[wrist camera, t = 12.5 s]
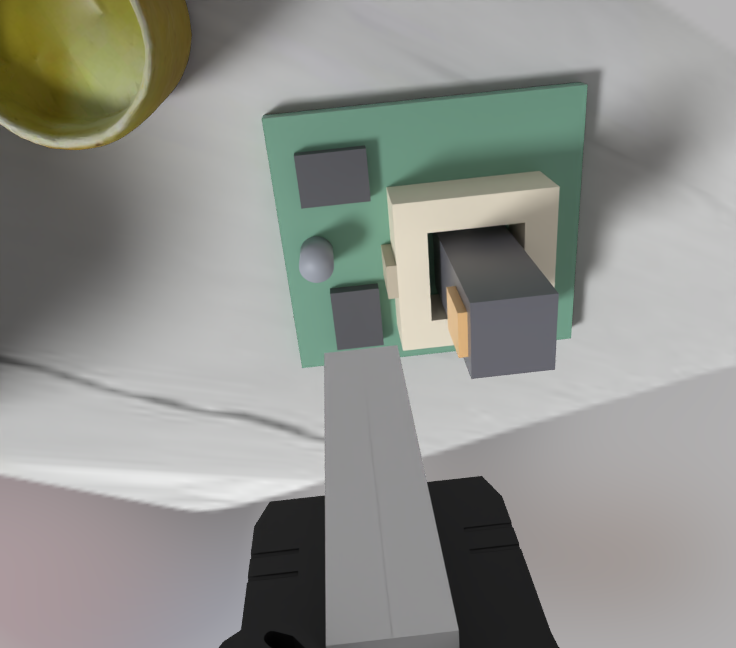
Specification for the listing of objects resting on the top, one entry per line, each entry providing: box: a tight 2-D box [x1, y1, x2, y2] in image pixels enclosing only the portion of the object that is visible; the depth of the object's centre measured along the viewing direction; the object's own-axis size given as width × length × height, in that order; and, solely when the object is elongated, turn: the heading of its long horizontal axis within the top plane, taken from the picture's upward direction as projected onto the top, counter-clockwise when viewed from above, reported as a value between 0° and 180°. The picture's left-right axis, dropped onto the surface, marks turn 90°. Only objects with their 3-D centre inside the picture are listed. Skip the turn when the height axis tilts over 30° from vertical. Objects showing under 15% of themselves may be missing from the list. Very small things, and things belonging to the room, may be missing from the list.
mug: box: [0, 0, 192, 150], centre depth 30 cm, size 12×10×10 cm
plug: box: [433, 225, 559, 379], centre depth 34 cm, size 4×4×11 cm
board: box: [262, 82, 587, 368], centre depth 37 cm, size 18×16×5 cm
